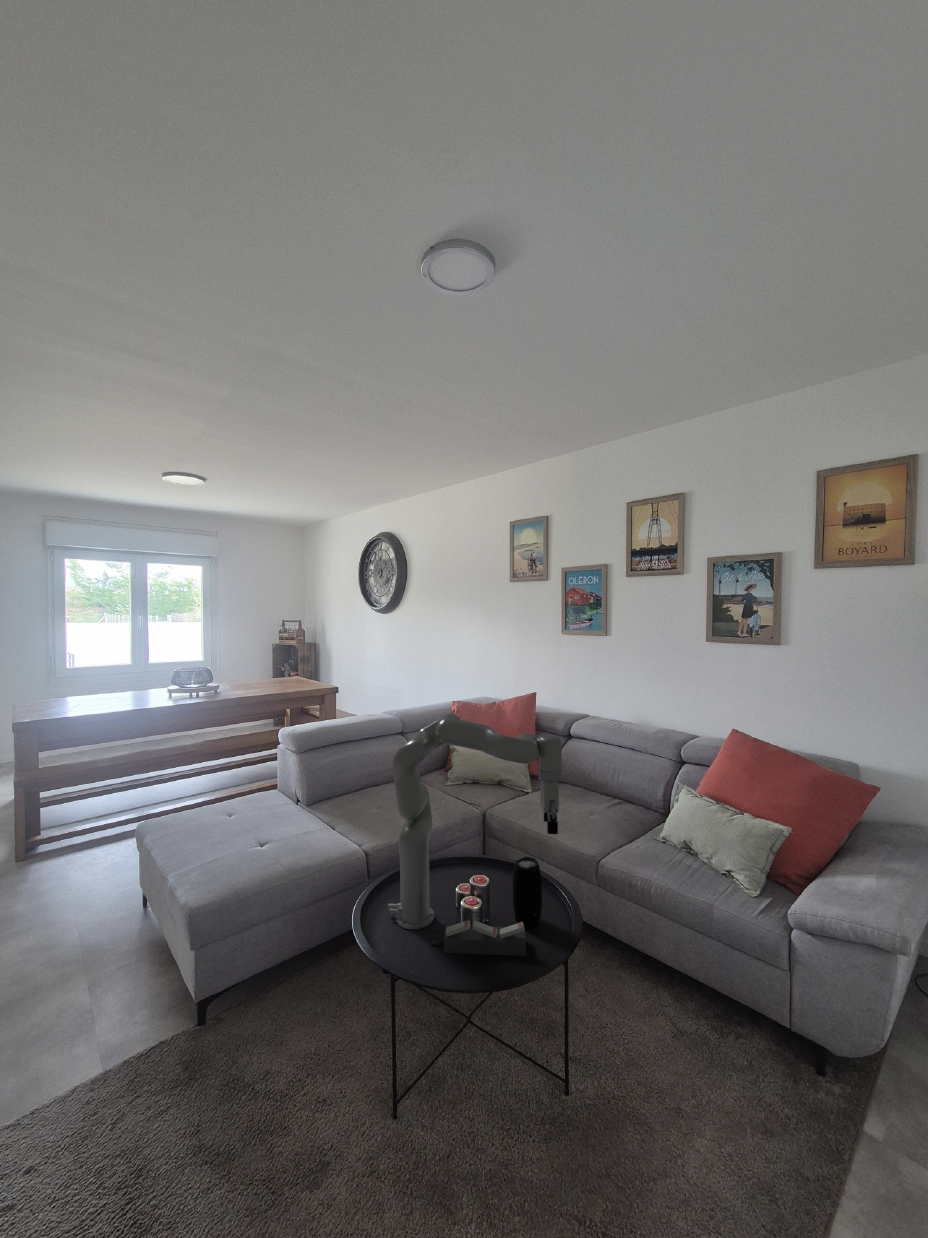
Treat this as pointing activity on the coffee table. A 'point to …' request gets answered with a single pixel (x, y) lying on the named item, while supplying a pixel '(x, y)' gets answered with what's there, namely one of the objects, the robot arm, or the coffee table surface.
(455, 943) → the rocker switch box
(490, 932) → the rocker
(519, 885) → the portable speaker
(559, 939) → the coffee table surface
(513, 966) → the coffee table surface
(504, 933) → the rocker
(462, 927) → the rocker
